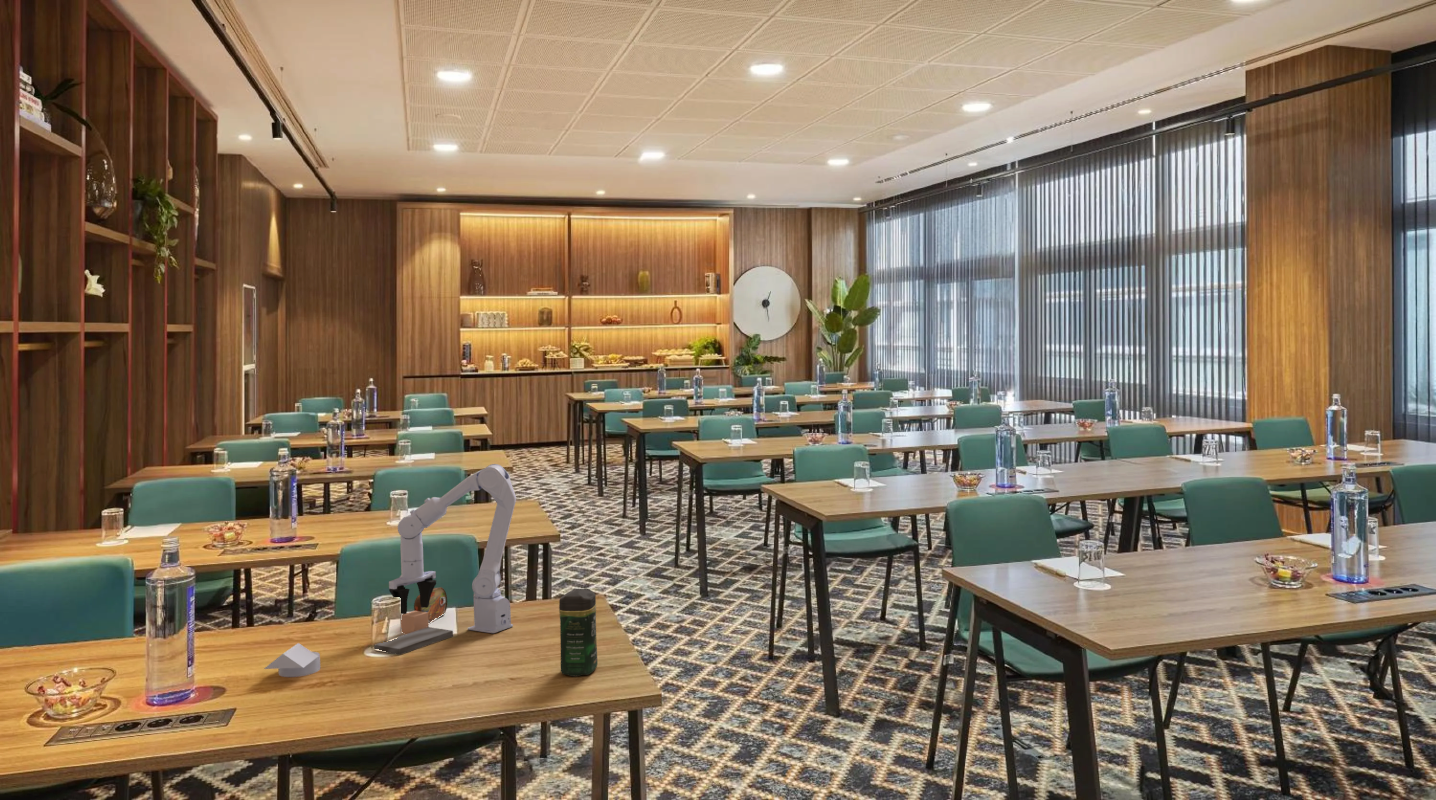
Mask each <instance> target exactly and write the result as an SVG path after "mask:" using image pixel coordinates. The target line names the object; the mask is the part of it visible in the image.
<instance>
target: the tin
mask: <svg viewBox="0 0 1436 800" xmlns="http://www.w3.org/2000/svg"><path fill="white" fill-rule="evenodd" d="M447 595H448V594H447V593H446V589H445V588H443V587H442V586H441V587H440V586H439V587H434V589H433V591H432V594H431V597H430V601H429V606H428V607H427V608H425V607H421V604H420V594H419V595H418V596H417V597H416V598H415V599H414V603H413V611H420V612H428V623H430V622H431V621H432V620H434V619H435V618H438V617H439V616H441V615H442V614H444V613H445V614H446V611H447V609H448V596H447ZM445 614H444V615H445ZM430 624H431V623H430Z"/></svg>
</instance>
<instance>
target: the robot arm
mask: <svg viewBox="0 0 1436 800" xmlns="http://www.w3.org/2000/svg"><path fill="white" fill-rule="evenodd" d="M481 489H482V490H484V491H485V492H487V493H488V494H490V496H491V497H492V498H493V501H495V503H496V507H495V511H494V515H493V518H492V522H491V527H490V531H489V534H488V535H489V536H488V539H487V543H486V547H485V551H484V555H483V559H482V562H481V564H480V568H479V571H478V574H477V575H476V577H475V578H474V579H473V580H472V585H471V588H472V592H473V595H472V596H473V617H474V618H473V621H474V622H473V623H474V624H473V625H472V626H469V627H467V630H468V631H475V632H482V633H488V634H495V633H498V632H501V631H503V630H506V629H510V628H512V627H513V626H514V624H512V616H511V611H512V610H511V602H510V600H509V599H508V598H507V597H503V595H502V594H501V593H502V591H501V590H500V589H499V588H498V587H499V585H500V584H501V579H502V578H501V577H502V576H501V573H500V570H501V565H502V558H503V555H504V550H505V546H506V541H507V539H508V534H509V530H510V525H511V521H512V517H513V514H514V509H515V507H516V502H517V495H516V493H515V490H514V486H513V483H512V480H511V476H510V474H509V472H507V470H506V469H505V468H504V467H503V465H501V464H497V463H492V464H489V465H488V466H486V467H485V468H483V469H480V470H479V471H476V472H475V473H473V474H471V475H469V476H467V477H466V478H464V479H463V480H462V481H460V482H459V483H458V484H457V485H455V486H454V487H453V488H451V489H450V490H449V491H447V492H446V493H445V494H443V496H441V497H438V496H437V497H436V496H432V497H431V498H430V497H427V498H426V499H424V501H423V502H424V503H423V504H422V505H420V506H418V507H417V508H416V509H411V511H409V513H410V514H407V516H404V517H402V519H401V520H400V521H399V523H398V524H397V532H398V534H399V535H400V545H399V546H400V566H401V567H400V568H401V569H400V572H401V575H399V577H397V578H395V579H393V580H390V581H388V589H389V593H390V594H391V596H392V597H393V598H394V597H400V598H401V614H400V615H402V614H406V613H408V598H409V597H408V596H409V593H410V591H411V590H410V589H409V588H406V586H409V585H412V584H416V585H417V587H418V593H419V595H420V604H421V607H425V608H427V607H428V606H429V601H430V597H431V594H432V591H433V589H434V588H436V585H437V580H436V578H437V575H436V574H437V572H436V570H434V571H433V570H427V571H424V569H425V568H424V567H425V566H424V548H423V547H424V543H423V532H424V530H425V529H427V528H429V527H430V526H431V525H433V524H434V523H436V522H437V521H438V520H440V519H441V518H443V517H444V516H445V515H447V512H448V511H447V510H448V507H449V506H451V505H452V504H453V503H455V502H457V501H458V500H459V499H460V498H463V496H465V495H466V494H468V493H469V492H473V491H474V492H475V491H480V490H481Z"/></svg>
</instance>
